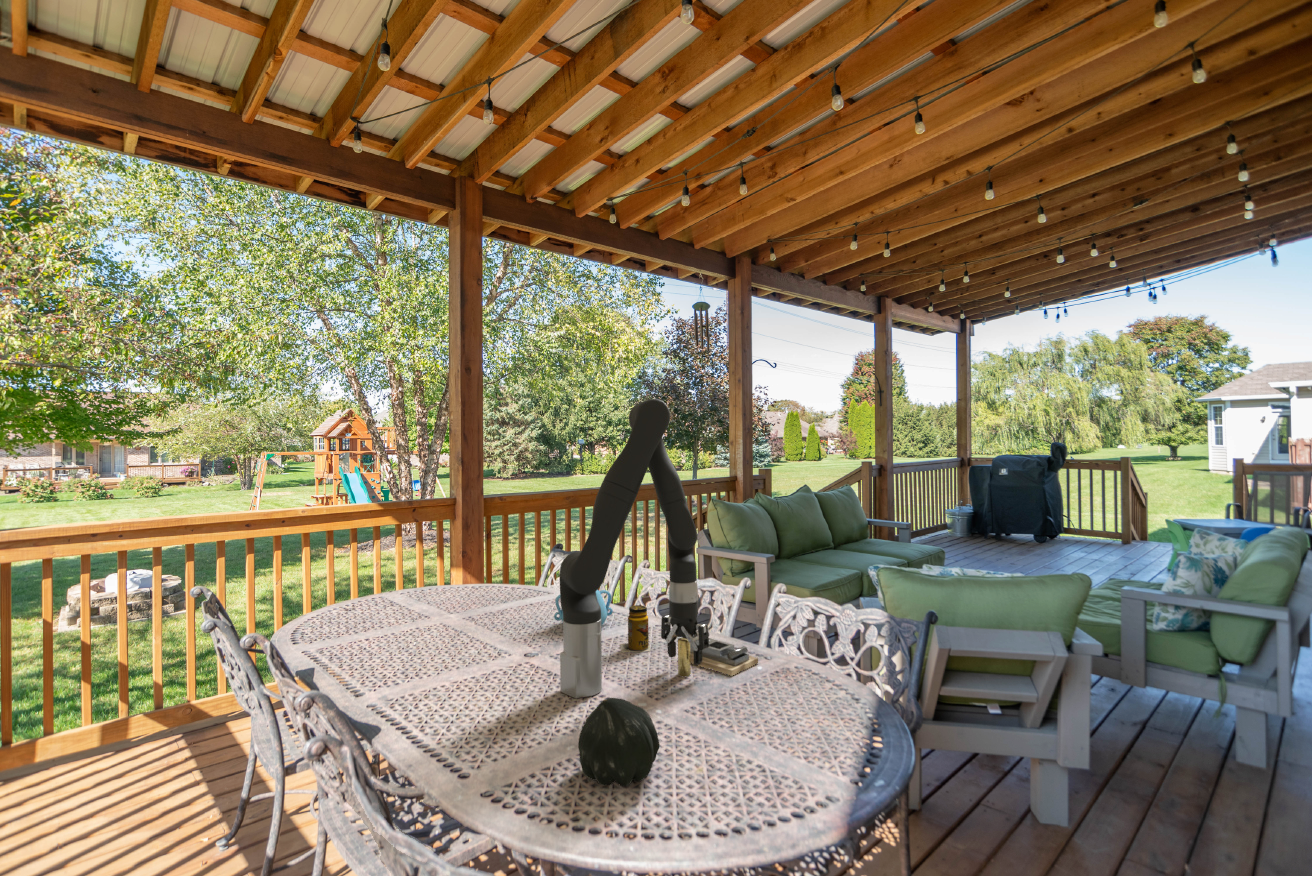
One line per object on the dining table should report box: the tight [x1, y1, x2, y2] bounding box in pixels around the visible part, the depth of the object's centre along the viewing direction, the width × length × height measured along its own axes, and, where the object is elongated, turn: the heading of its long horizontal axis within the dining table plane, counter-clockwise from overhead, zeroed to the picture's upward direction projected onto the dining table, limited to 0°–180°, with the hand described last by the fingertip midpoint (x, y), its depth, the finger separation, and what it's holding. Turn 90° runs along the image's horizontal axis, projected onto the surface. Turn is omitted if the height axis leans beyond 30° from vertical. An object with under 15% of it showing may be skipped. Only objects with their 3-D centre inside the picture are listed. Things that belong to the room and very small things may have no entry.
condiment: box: [619, 604, 652, 654], centre depth 178 cm, size 7×8×12 cm
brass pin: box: [677, 637, 692, 678], centre depth 157 cm, size 3×3×9 cm
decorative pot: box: [553, 589, 614, 627], centre depth 200 cm, size 20×20×14 cm
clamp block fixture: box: [690, 631, 759, 677], centre depth 166 cm, size 12×18×6 cm, turn 47°
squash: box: [577, 697, 660, 787], centre depth 110 cm, size 14×15×15 cm
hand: (684, 660), depth 158 cm, fingers open, 8 cm apart
